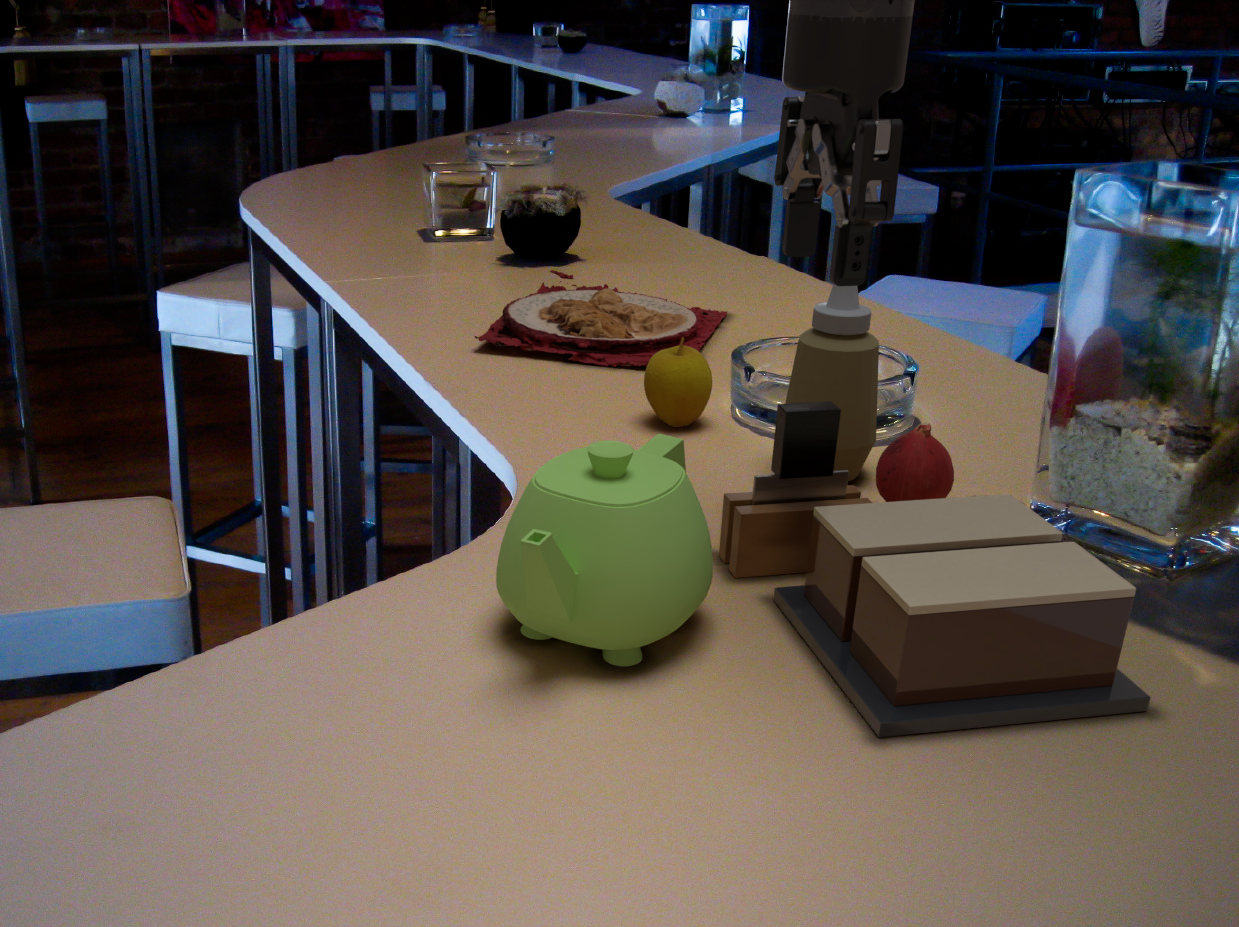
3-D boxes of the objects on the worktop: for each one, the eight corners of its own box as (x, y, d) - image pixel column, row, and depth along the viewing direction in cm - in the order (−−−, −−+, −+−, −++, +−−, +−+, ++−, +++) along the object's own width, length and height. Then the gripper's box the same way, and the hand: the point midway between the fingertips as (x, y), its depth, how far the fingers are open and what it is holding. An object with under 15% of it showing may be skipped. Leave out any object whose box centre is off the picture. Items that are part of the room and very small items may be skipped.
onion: (870, 528, 98) (883, 431, 95) (869, 500, 103) (882, 407, 100) (948, 536, 97) (964, 438, 93) (944, 507, 102) (959, 413, 98)
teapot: (620, 725, 73) (630, 527, 68) (431, 661, 79) (427, 475, 74) (754, 591, 88) (771, 421, 83) (587, 546, 95) (593, 385, 89)
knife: (832, 553, 94) (851, 399, 89) (841, 563, 92) (862, 408, 87) (742, 559, 93) (756, 404, 88) (750, 570, 91) (765, 413, 86)
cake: (1000, 582, 90) (1019, 483, 87) (1147, 711, 75) (1177, 597, 72) (773, 600, 87) (783, 498, 84) (878, 738, 72) (896, 621, 69)
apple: (688, 408, 123) (694, 328, 120) (721, 429, 118) (728, 346, 114) (629, 416, 121) (633, 335, 118) (660, 438, 116) (665, 353, 112)
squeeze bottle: (768, 454, 112) (789, 251, 105) (860, 456, 112) (887, 253, 104) (782, 489, 105) (805, 274, 97) (880, 492, 105) (911, 276, 97)
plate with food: (472, 354, 140) (472, 324, 138) (542, 293, 161) (543, 267, 160) (684, 380, 133) (686, 348, 131) (728, 313, 155) (730, 285, 153)
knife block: (845, 545, 95) (853, 484, 93) (866, 568, 92) (875, 505, 90) (718, 555, 94) (723, 493, 91) (735, 578, 90) (741, 514, 88)
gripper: (962, 14, 72) (921, 294, 79) (860, 3, 85) (832, 245, 92) (838, 14, 71) (807, 298, 78) (754, 3, 84) (733, 248, 91)
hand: (821, 269), depth 85 cm, fingers open, 8 cm apart
